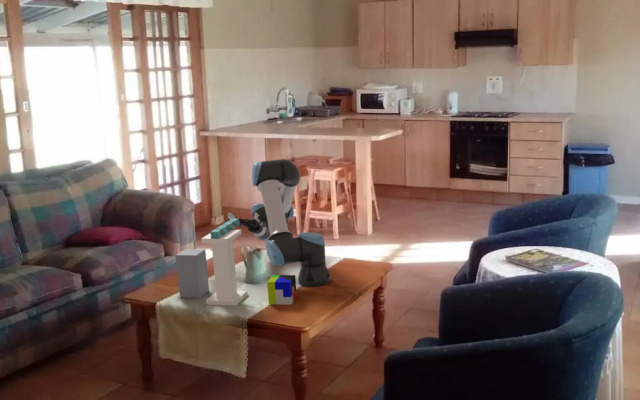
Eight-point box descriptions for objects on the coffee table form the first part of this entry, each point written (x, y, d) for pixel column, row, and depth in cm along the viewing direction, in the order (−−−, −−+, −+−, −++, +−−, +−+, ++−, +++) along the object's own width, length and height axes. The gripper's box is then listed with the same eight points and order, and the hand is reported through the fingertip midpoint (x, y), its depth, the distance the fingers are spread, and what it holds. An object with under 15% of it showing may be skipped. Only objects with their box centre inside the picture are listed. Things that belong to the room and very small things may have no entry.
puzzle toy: (291, 304, 298) (289, 282, 296) (268, 304, 300) (267, 282, 298) (296, 296, 307) (295, 275, 305) (274, 296, 309) (273, 275, 307)
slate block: (189, 290, 325) (185, 249, 321) (209, 291, 322) (205, 249, 319) (179, 297, 315) (175, 255, 312) (200, 298, 313) (196, 255, 309)
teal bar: (233, 224, 320) (233, 218, 320) (239, 224, 320) (239, 218, 319) (211, 238, 296) (210, 231, 295) (217, 238, 295) (217, 231, 295)
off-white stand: (219, 293, 318) (214, 229, 312) (248, 294, 315) (243, 229, 309) (205, 305, 303) (199, 238, 297) (235, 306, 299) (229, 238, 294)
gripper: (278, 234, 354) (265, 222, 335) (233, 234, 361) (217, 222, 341) (280, 220, 356) (266, 207, 337) (234, 220, 363) (219, 207, 344)
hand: (241, 215), depth 339 cm, fingers open, 13 cm apart
